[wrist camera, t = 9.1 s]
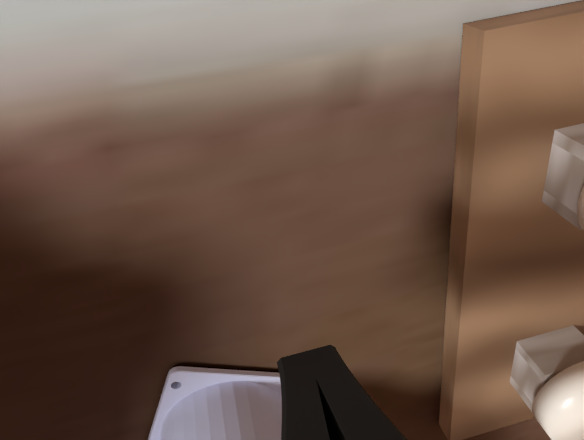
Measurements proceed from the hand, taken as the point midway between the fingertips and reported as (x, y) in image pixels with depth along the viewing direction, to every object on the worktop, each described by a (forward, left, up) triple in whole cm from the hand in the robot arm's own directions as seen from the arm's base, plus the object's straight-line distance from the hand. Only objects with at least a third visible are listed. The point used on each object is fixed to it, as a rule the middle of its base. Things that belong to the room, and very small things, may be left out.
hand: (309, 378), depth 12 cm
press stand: (0, -17, -10) cm, 20 cm away
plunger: (-6, -20, -9) cm, 23 cm away
